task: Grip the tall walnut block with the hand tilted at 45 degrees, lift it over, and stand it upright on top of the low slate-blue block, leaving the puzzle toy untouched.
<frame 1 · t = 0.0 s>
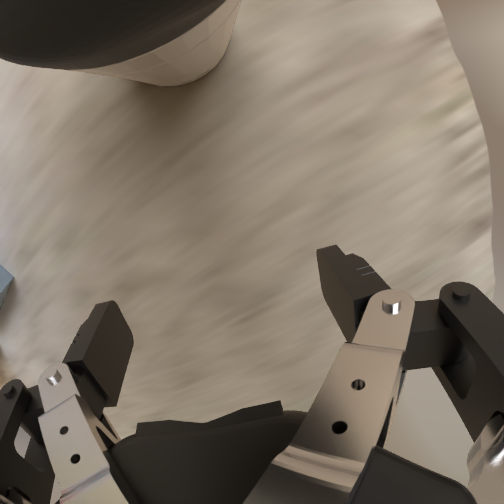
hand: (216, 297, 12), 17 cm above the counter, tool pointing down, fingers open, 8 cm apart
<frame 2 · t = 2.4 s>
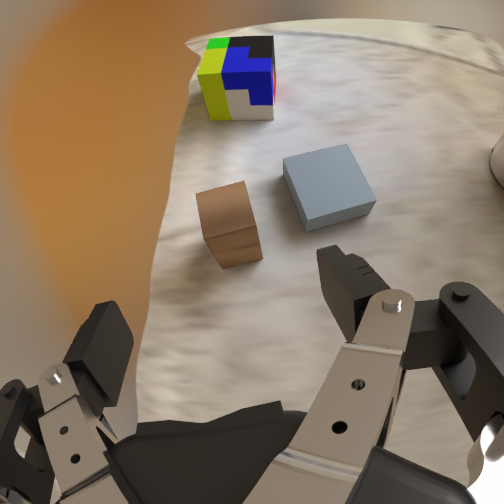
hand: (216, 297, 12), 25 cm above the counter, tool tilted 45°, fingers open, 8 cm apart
puzzle toy: (245, 100, 48), on the counter
slate plinth: (325, 194, 41), on the counter
walnut block: (238, 245, 39), on the counter
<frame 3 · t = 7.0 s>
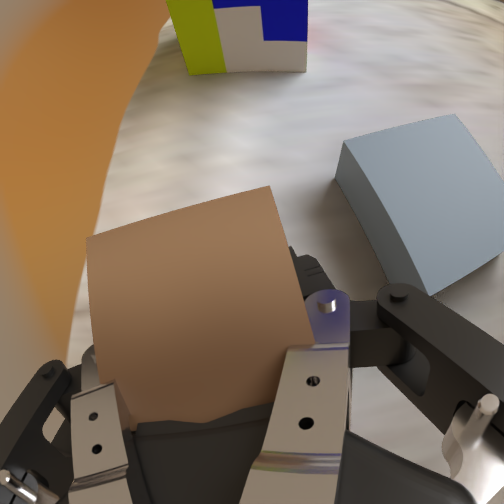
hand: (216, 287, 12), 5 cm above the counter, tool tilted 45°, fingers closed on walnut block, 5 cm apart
puzzle toy: (251, 44, 25), on the counter
slate plinth: (424, 217, 18), on the counter
walnut block: (242, 340, 16), on the counter, touching gripper
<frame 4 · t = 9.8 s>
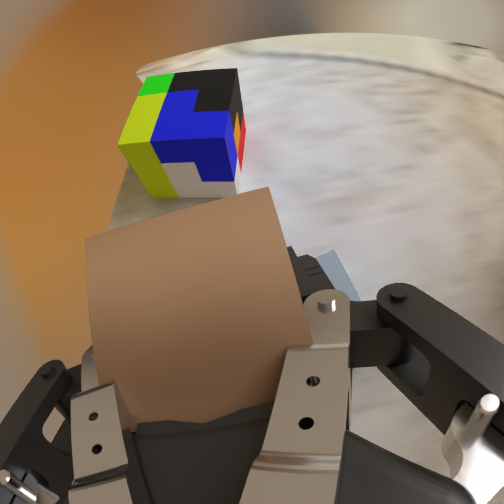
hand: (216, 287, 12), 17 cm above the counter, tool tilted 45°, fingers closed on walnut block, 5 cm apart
puzzle toy: (200, 163, 36), on the counter
slate plinth: (306, 324, 29), on the counter
walnut block: (241, 341, 16), point 13 cm above the counter, touching gripper
when the fingers open (10 cm above the counter, at t = 12.6 s): walnut block drops 2 cm, point 4 cm above the counter.
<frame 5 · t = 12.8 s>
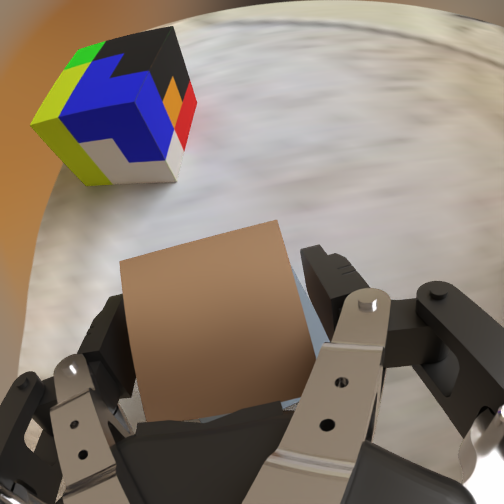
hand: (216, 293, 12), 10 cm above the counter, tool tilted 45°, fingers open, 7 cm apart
puzzle toy: (141, 143, 29), on the counter
slate plinth: (251, 346, 22), on the counter
walnut block: (246, 341, 18), point 4 cm above the counter
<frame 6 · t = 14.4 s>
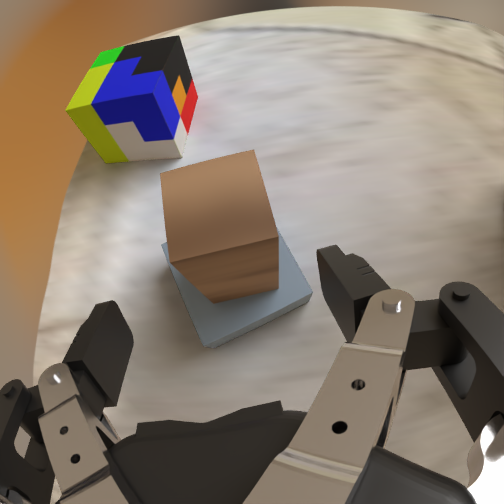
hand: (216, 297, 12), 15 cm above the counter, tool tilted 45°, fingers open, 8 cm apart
puzzle toy: (152, 129, 35), on the counter
slate plinth: (239, 280, 28), on the counter, touching walnut block
walnut block: (238, 265, 24), point 4 cm above the counter, touching slate plinth
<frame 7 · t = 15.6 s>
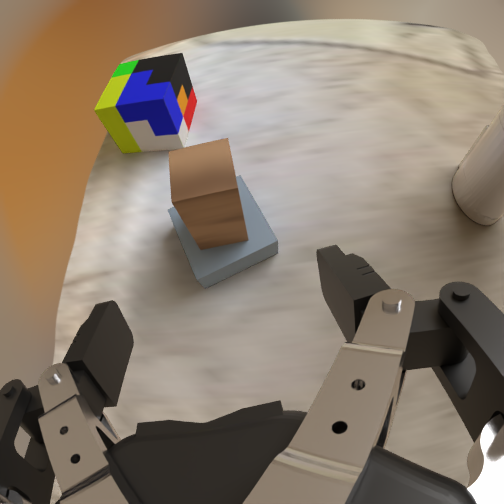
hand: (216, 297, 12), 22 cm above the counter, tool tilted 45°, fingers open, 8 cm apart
puzzle toy: (160, 127, 44), on the counter
slate plinth: (225, 238, 37), on the counter
walnut block: (220, 223, 33), point 4 cm above the counter
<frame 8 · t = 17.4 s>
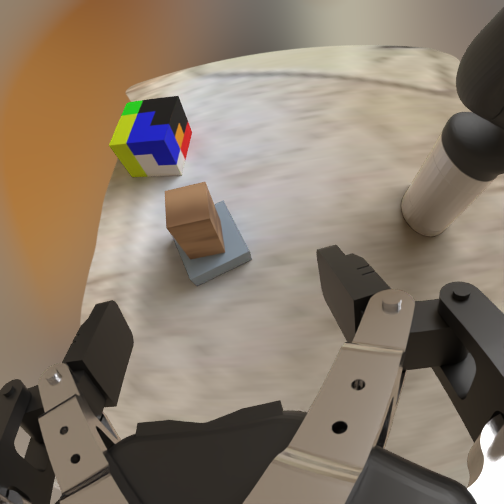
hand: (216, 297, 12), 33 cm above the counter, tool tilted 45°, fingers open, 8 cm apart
puzzle toy: (162, 154, 55), on the counter
slate plinth: (212, 248, 48), on the counter
walnut block: (205, 239, 44), point 4 cm above the counter
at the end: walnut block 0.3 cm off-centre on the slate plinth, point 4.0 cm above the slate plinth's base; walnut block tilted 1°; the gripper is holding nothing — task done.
